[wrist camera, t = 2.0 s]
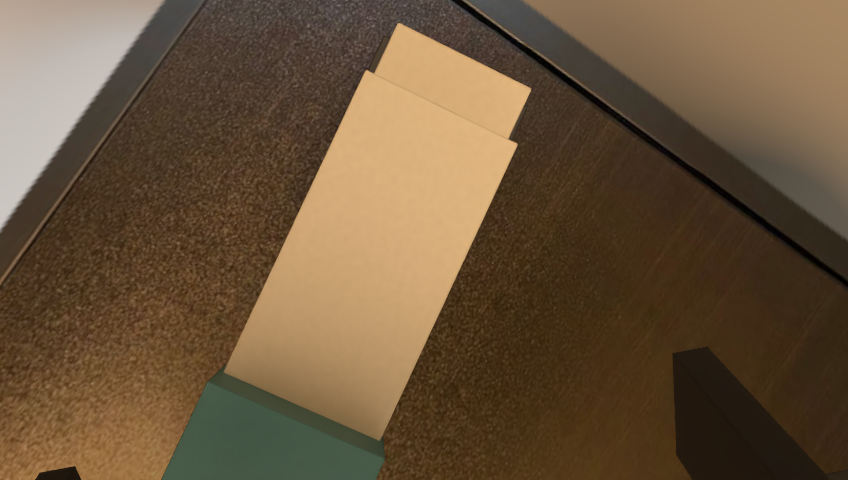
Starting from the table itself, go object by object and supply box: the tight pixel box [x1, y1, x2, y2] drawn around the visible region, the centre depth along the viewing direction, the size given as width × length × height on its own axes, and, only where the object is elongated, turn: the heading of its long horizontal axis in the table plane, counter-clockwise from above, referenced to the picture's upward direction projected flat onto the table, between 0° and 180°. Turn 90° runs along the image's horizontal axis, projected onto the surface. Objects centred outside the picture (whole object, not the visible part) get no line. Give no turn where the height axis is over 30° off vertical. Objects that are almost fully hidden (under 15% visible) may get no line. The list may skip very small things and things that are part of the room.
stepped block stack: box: [161, 23, 531, 480], centre depth 31 cm, size 24×8×9 cm, turn 155°
